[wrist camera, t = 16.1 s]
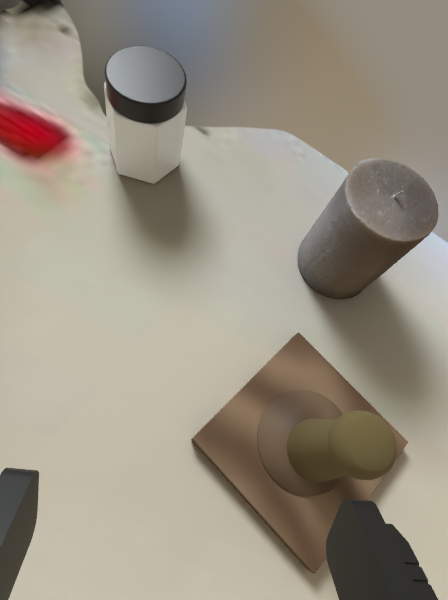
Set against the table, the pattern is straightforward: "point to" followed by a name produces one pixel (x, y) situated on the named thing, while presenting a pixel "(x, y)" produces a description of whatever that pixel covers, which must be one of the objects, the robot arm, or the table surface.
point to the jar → (145, 111)
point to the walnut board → (273, 446)
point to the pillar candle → (367, 227)
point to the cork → (342, 447)
